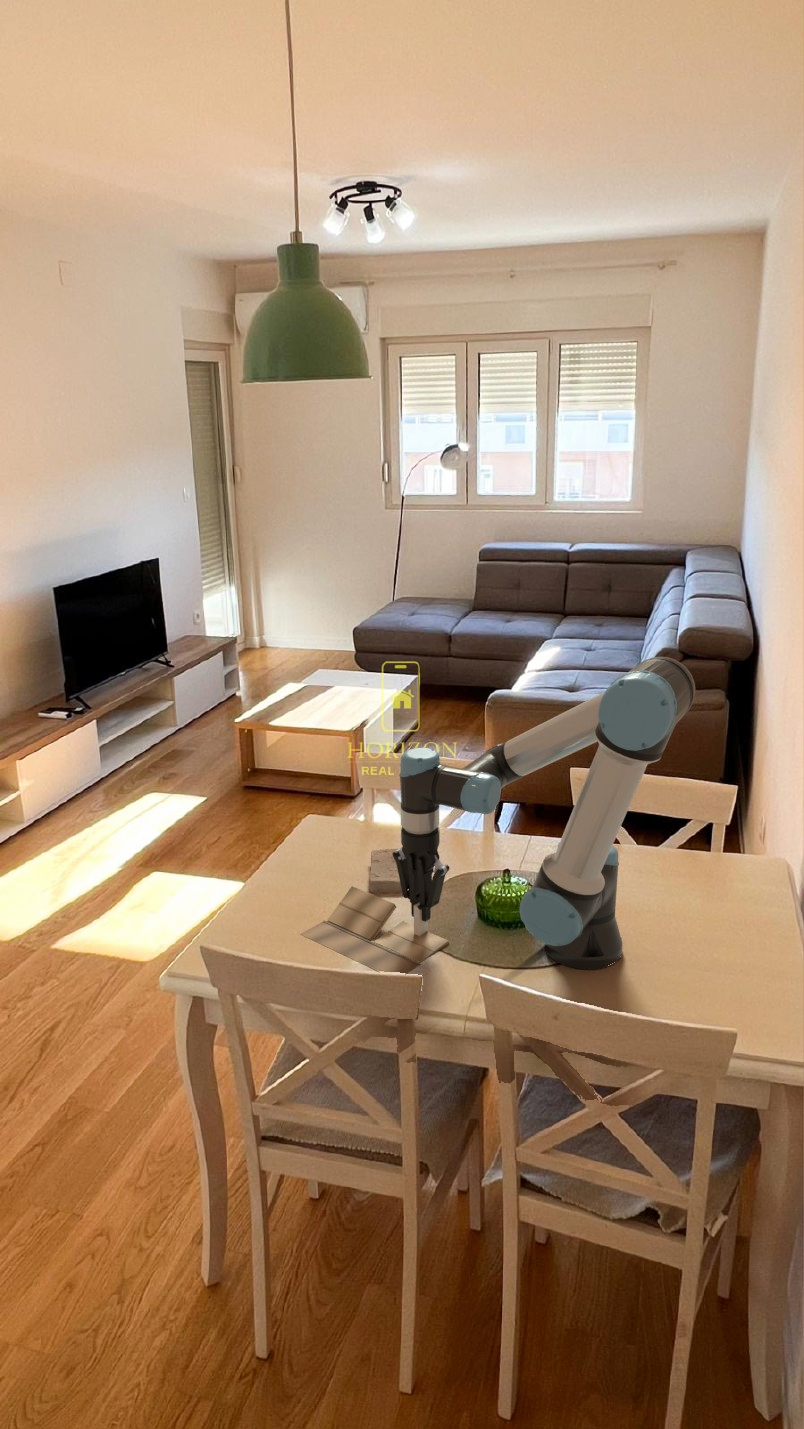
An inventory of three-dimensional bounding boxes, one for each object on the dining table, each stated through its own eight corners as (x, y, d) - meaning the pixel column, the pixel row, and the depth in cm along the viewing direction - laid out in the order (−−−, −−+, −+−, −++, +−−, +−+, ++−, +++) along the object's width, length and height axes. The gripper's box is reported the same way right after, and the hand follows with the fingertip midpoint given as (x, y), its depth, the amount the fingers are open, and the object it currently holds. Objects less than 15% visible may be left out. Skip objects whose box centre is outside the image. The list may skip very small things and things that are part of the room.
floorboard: (420, 970, 191) (420, 963, 191) (396, 986, 186) (396, 979, 186) (324, 926, 207) (324, 920, 207) (300, 940, 202) (300, 933, 202)
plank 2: (448, 945, 198) (448, 940, 197) (420, 967, 192) (419, 962, 191) (403, 926, 205) (402, 920, 205) (374, 946, 199) (373, 941, 199)
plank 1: (396, 906, 204) (394, 903, 203) (372, 942, 200) (369, 939, 199) (354, 889, 211) (351, 885, 211) (329, 923, 207) (327, 919, 207)
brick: (407, 899, 219) (407, 880, 217) (369, 899, 219) (369, 880, 217) (406, 865, 234) (406, 847, 233) (371, 866, 234) (371, 848, 233)
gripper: (458, 829, 192) (458, 935, 199) (407, 811, 200) (408, 914, 208) (434, 842, 186) (434, 951, 194) (382, 823, 195) (384, 929, 202)
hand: (421, 932), depth 201 cm, fingers closed
